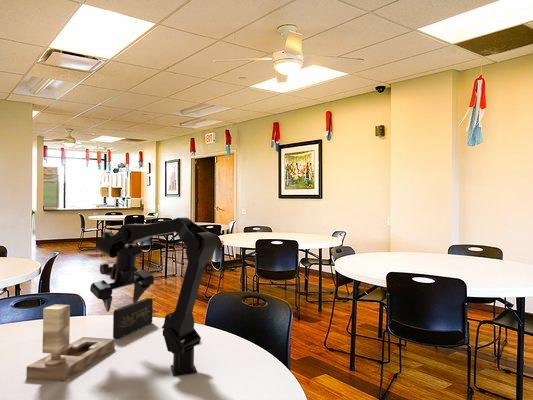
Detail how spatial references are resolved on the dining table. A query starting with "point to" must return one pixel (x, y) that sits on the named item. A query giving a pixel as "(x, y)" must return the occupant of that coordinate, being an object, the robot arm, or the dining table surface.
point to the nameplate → (132, 317)
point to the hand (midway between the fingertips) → (121, 306)
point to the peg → (56, 333)
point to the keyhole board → (72, 359)
